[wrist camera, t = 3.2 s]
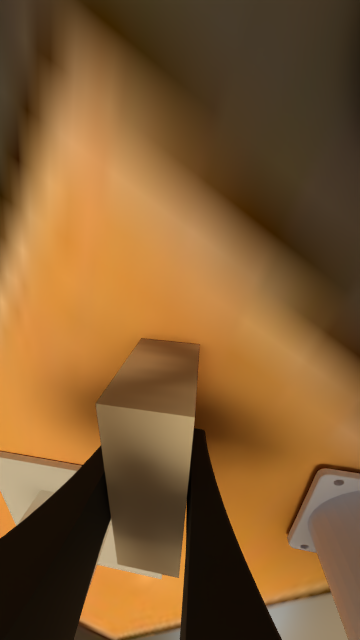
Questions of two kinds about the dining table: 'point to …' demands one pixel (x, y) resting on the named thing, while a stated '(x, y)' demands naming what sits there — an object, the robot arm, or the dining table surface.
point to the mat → (41, 474)
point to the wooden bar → (149, 452)
